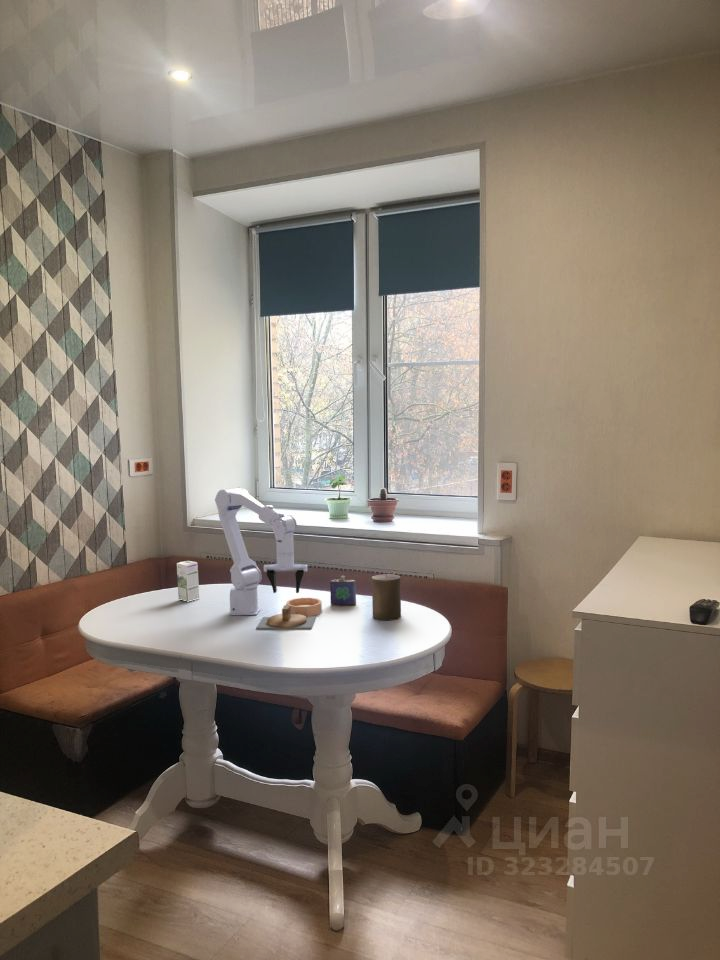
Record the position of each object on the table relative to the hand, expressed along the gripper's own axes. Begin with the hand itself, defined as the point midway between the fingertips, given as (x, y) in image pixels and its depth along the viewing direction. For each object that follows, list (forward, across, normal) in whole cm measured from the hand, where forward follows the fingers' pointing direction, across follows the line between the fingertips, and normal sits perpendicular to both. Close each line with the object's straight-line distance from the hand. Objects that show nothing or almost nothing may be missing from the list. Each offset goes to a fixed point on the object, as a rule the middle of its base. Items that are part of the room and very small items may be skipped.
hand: (286, 592), depth 245 cm
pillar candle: (+10, +34, +4) cm, 35 cm away
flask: (+10, +17, +19) cm, 27 cm away
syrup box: (+10, -42, +26) cm, 50 cm away
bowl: (+10, +4, +9) cm, 14 cm away
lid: (+9, +1, -4) cm, 10 cm away
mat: (+10, +1, -5) cm, 11 cm away
